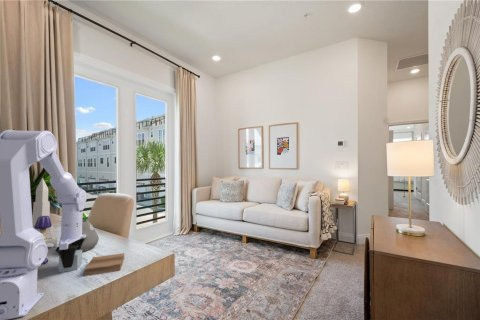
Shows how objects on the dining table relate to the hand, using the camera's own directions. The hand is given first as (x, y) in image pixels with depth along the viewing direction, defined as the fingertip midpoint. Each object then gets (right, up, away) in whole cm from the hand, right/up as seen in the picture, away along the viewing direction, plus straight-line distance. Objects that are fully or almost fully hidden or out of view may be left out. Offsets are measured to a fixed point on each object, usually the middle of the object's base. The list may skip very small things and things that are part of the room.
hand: (70, 263), depth 74 cm
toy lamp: (-13, -2, +3) cm, 14 cm away
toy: (-10, -2, +17) cm, 20 cm away
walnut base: (+11, -2, +1) cm, 12 cm away
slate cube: (0, -1, 0) cm, 1 cm away
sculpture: (-26, -2, +17) cm, 31 cm away
